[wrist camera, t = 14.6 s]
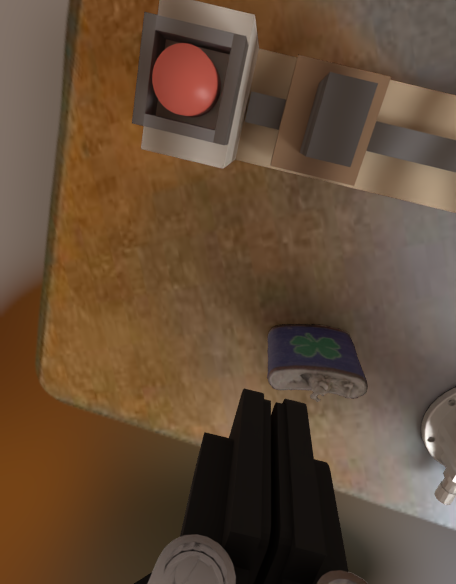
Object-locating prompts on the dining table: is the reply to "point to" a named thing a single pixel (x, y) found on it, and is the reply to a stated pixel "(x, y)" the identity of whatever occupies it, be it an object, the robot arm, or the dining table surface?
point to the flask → (314, 361)
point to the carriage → (328, 119)
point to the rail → (270, 105)
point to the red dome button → (186, 80)
